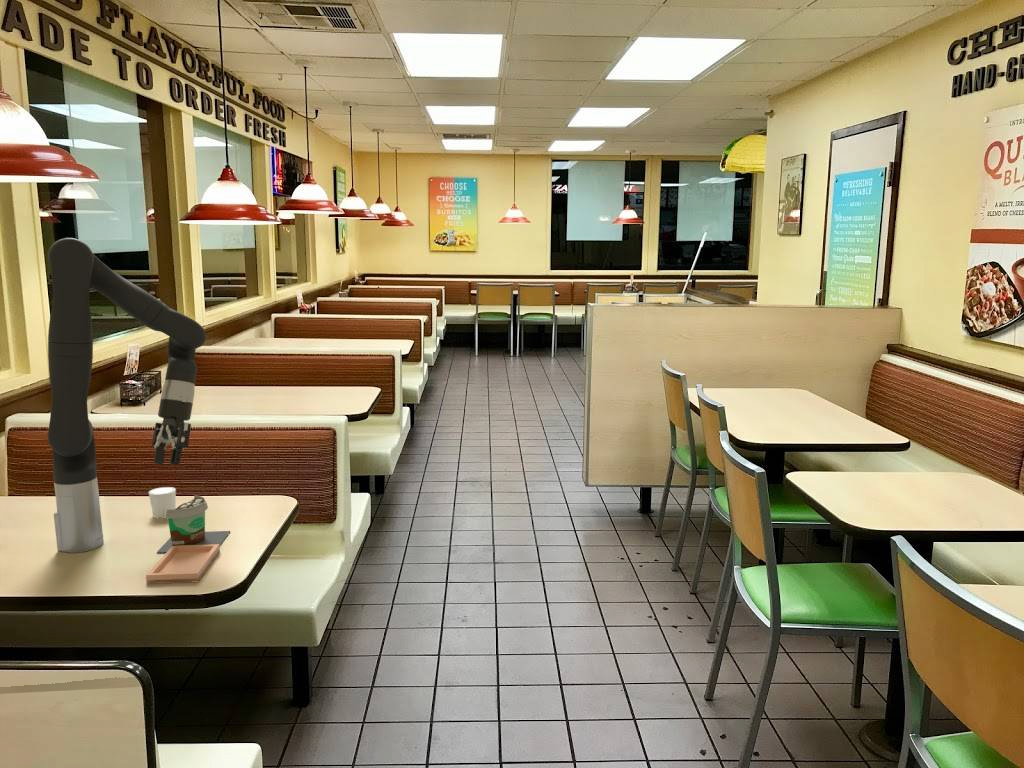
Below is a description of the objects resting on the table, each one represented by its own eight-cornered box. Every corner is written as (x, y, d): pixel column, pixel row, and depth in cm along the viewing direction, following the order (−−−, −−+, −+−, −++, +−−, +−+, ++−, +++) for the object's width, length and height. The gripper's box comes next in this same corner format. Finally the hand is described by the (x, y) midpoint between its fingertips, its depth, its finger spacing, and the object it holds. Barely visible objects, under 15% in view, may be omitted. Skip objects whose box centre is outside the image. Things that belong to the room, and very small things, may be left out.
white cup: (171, 518, 210) (168, 494, 209) (146, 518, 210) (143, 494, 209) (181, 510, 217) (180, 486, 216) (157, 510, 217) (155, 486, 216)
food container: (191, 551, 187) (188, 512, 185) (168, 549, 188) (165, 510, 186) (219, 533, 199) (217, 496, 197) (198, 531, 200) (195, 494, 198)
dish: (146, 583, 170) (145, 575, 169) (173, 553, 186) (172, 545, 186) (198, 581, 170) (197, 573, 170) (219, 551, 187) (219, 544, 187)
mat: (156, 553, 186) (156, 552, 186) (175, 533, 199) (174, 532, 199) (216, 551, 188) (216, 550, 188) (230, 531, 200) (230, 530, 200)
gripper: (149, 398, 195) (138, 462, 192) (176, 396, 186) (165, 463, 183) (177, 403, 201) (167, 465, 198) (205, 401, 192) (194, 467, 189)
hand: (166, 464), depth 191 cm, fingers open, 8 cm apart
